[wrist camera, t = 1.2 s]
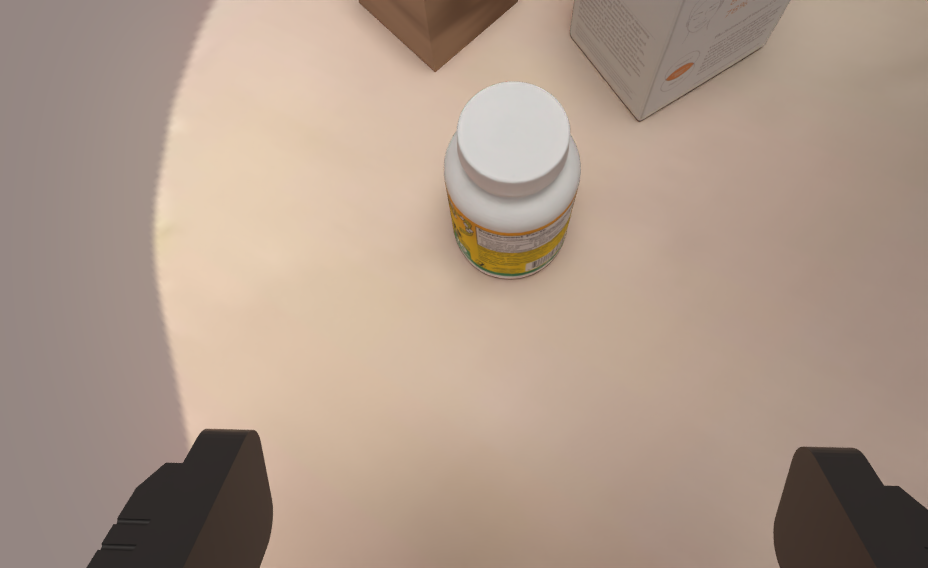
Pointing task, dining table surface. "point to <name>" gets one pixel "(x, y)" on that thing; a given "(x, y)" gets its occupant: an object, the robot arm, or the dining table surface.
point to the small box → (668, 43)
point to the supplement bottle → (511, 179)
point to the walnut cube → (437, 24)
